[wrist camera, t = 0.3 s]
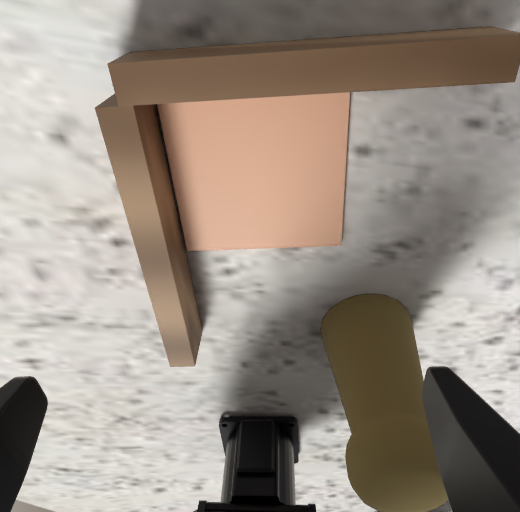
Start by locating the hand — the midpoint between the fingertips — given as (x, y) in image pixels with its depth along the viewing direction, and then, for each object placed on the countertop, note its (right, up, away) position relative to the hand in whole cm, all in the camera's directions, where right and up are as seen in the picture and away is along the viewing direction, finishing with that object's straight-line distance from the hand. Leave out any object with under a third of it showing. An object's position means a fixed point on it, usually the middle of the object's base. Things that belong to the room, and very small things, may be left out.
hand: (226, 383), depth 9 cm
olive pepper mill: (+8, -2, +18) cm, 20 cm away
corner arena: (+2, +4, +14) cm, 15 cm away
